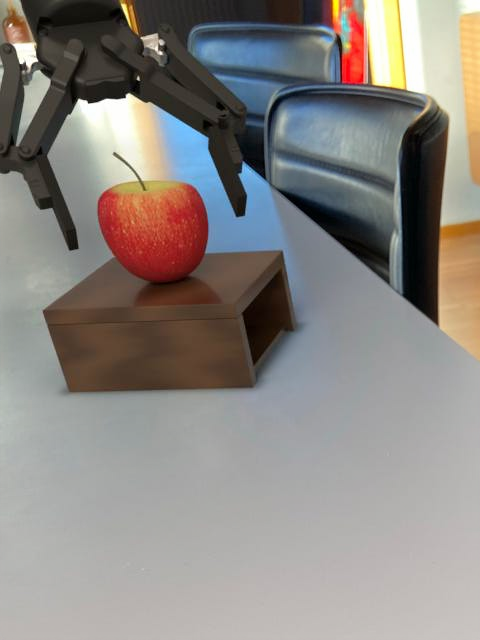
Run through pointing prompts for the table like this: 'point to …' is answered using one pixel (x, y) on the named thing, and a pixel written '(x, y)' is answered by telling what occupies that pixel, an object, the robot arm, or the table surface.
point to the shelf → (173, 325)
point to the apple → (154, 227)
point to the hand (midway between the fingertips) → (159, 223)
